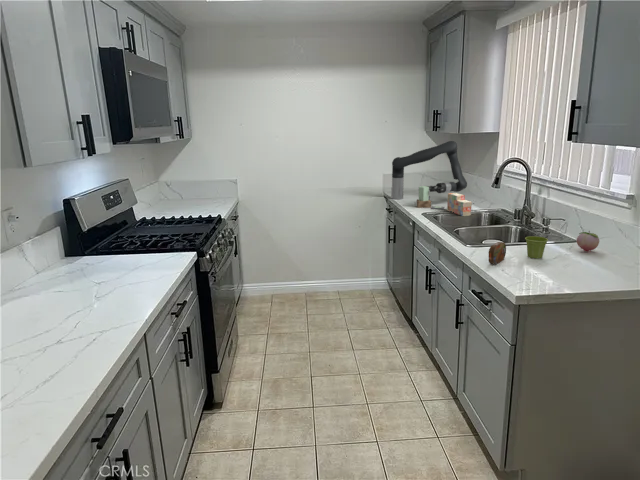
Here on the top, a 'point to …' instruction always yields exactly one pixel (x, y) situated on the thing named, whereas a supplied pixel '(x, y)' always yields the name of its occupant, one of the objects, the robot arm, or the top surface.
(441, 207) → the swatch card
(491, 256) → the tin
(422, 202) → the walnut plinth
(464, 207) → the stack of blocks
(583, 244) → the decorative fruit
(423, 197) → the sage block
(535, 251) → the plant pot
